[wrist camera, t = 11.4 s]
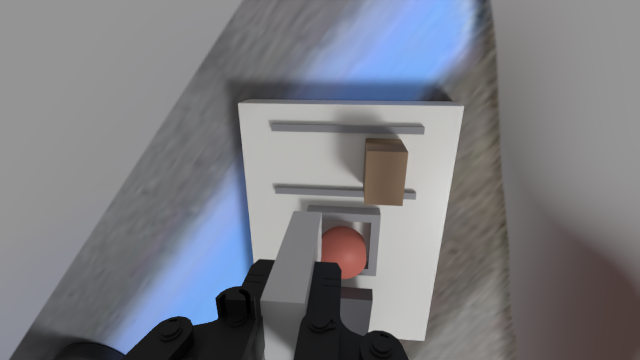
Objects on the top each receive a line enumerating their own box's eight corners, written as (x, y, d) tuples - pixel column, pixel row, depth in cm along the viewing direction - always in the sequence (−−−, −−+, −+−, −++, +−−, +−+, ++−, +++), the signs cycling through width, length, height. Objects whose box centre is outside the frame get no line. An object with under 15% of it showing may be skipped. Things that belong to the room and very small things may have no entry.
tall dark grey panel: (314, 327, 35) (312, 339, 34) (309, 284, 29) (307, 297, 28) (366, 332, 34) (366, 344, 33) (372, 288, 29) (372, 302, 28)
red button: (319, 263, 30) (316, 277, 28) (319, 224, 28) (316, 236, 26) (364, 266, 30) (365, 280, 28) (366, 227, 28) (367, 239, 26)
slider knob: (362, 185, 28) (364, 204, 24) (365, 138, 26) (367, 151, 23) (396, 186, 28) (402, 206, 24) (400, 139, 26) (408, 152, 22)
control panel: (266, 307, 39) (256, 336, 35) (248, 99, 29) (232, 105, 25) (419, 319, 37) (426, 352, 33) (453, 101, 27) (470, 108, 23)
